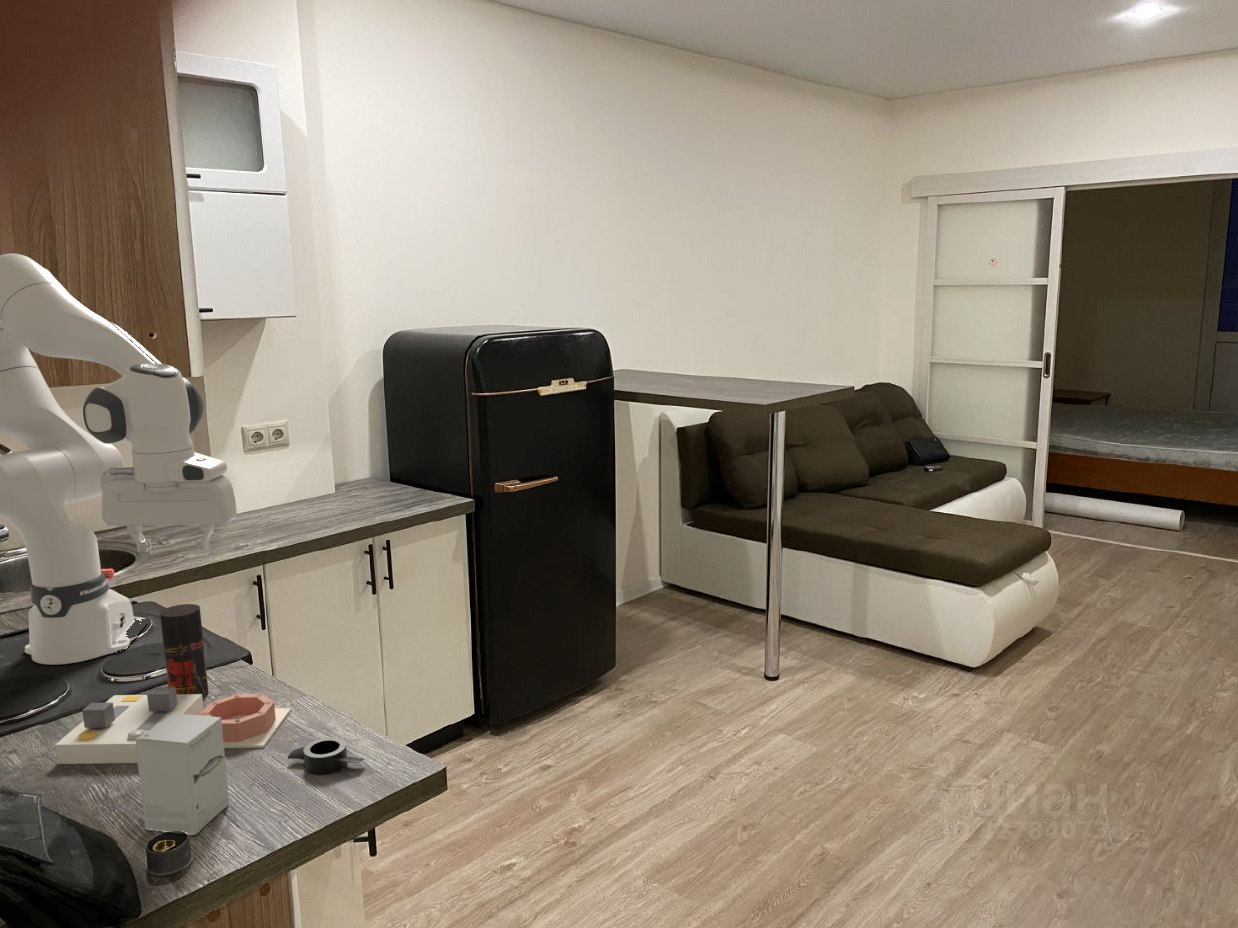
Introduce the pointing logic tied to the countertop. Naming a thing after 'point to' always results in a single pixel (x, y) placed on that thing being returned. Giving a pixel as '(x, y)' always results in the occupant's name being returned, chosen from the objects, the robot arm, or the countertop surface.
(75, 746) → the breaker panel
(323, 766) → the black finned ring
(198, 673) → the deodorant
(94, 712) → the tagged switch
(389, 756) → the countertop surface
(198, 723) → the supplement box
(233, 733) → the ring
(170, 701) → the untagged switch
